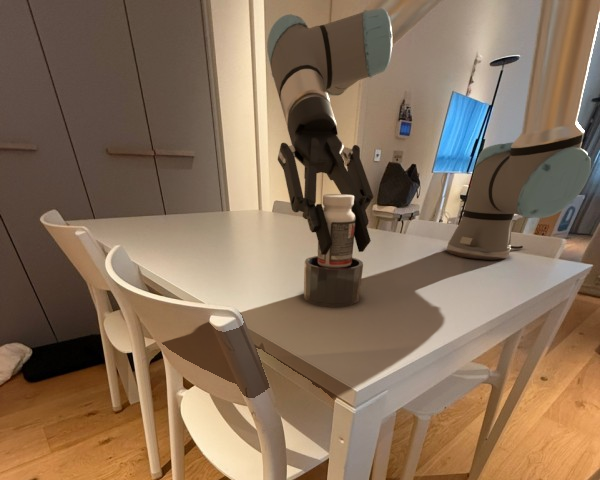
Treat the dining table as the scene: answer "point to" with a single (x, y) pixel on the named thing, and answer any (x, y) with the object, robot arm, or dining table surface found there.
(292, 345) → the dining table surface
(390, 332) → the dining table surface
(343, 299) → the cylindrical container
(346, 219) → the pill bottle
